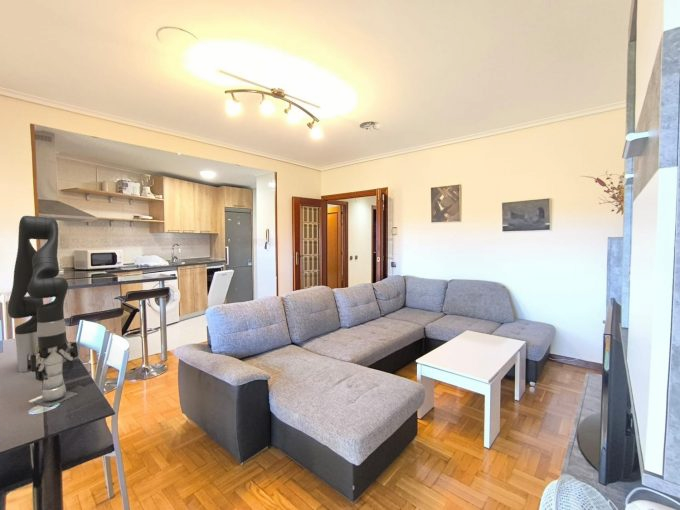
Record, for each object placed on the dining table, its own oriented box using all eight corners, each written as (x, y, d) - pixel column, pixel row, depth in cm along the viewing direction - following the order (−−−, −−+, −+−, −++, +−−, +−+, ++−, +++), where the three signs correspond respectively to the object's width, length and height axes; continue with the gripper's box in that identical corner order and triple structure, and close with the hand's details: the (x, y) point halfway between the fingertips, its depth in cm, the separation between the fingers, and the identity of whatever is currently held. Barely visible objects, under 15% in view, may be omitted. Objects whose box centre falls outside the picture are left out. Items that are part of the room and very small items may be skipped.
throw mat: (28, 402, 110) (28, 400, 110) (58, 390, 119) (57, 388, 119) (49, 407, 107) (49, 406, 107) (78, 394, 115) (77, 393, 115)
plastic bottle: (45, 405, 107) (41, 350, 106) (40, 400, 111) (35, 346, 109) (69, 397, 112) (65, 345, 111) (63, 392, 116) (59, 341, 115)
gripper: (67, 325, 119) (70, 366, 120) (20, 337, 105) (23, 382, 106) (80, 327, 116) (83, 368, 117) (33, 339, 103) (37, 386, 104)
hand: (55, 375), depth 112 cm, fingers open, 8 cm apart
